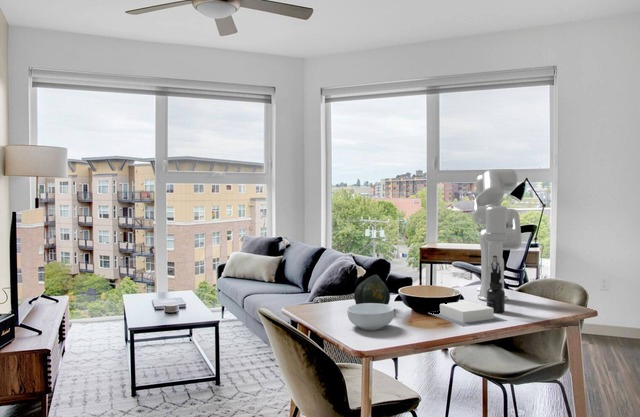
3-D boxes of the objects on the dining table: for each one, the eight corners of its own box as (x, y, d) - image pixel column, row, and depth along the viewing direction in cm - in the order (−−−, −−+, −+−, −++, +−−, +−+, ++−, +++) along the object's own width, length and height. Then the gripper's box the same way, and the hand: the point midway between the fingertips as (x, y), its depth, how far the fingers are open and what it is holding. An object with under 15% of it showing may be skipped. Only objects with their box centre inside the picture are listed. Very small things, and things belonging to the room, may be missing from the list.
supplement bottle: (485, 313, 201) (485, 283, 201) (488, 309, 207) (488, 280, 207) (503, 315, 198) (503, 284, 197) (506, 311, 204) (506, 281, 203)
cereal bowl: (364, 319, 195) (364, 300, 195) (403, 326, 185) (402, 306, 184) (338, 328, 182) (337, 309, 182) (377, 336, 171) (377, 315, 171)
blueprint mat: (427, 314, 201) (427, 312, 201) (468, 309, 209) (468, 307, 209) (463, 328, 181) (463, 326, 181) (507, 321, 188) (507, 320, 188)
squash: (349, 301, 201) (374, 272, 202) (346, 294, 216) (369, 267, 217) (376, 324, 202) (401, 295, 202) (371, 316, 217) (394, 289, 217)
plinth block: (439, 314, 198) (439, 304, 198) (469, 310, 204) (469, 300, 204) (463, 322, 185) (463, 311, 185) (493, 318, 191) (493, 308, 191)
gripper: (487, 236, 211) (487, 277, 211) (484, 239, 195) (484, 283, 195) (506, 236, 208) (506, 278, 208) (504, 239, 192) (504, 285, 192)
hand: (495, 281), depth 201 cm, fingers open, 9 cm apart
